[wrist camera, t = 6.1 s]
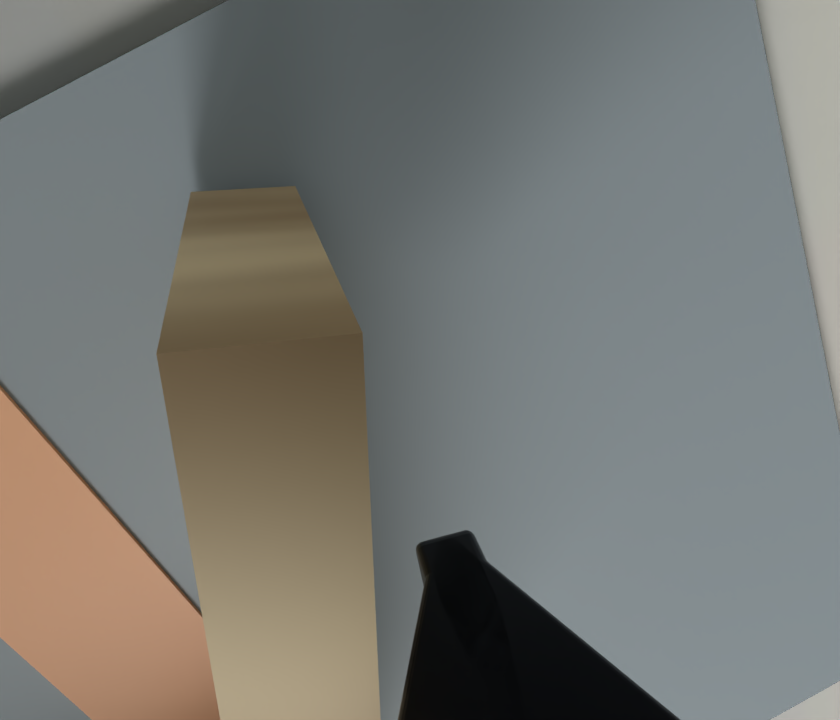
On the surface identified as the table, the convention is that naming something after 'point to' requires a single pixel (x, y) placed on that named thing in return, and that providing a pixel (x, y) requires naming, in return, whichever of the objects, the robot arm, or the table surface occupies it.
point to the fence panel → (272, 459)
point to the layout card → (438, 338)
